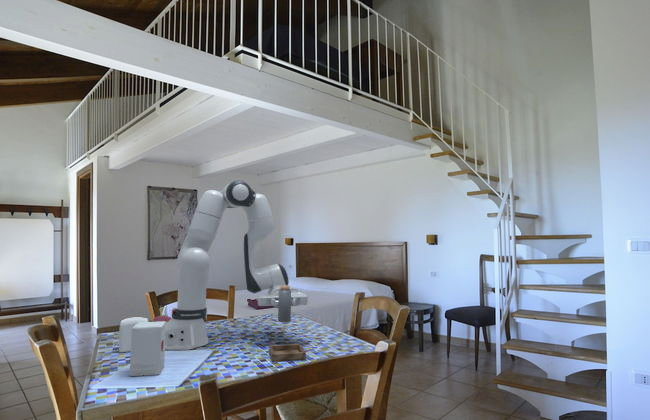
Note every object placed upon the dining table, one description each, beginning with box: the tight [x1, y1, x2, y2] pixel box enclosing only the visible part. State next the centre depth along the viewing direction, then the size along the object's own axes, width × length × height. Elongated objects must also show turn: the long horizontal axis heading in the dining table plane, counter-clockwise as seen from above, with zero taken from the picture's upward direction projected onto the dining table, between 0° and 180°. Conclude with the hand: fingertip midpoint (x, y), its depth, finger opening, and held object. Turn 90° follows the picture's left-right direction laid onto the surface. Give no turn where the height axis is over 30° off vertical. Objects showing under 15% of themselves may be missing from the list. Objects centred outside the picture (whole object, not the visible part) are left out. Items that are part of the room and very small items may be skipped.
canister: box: [277, 284, 292, 323], centre depth 157 cm, size 5×5×14 cm
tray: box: [268, 343, 307, 363], centre depth 147 cm, size 12×12×2 cm
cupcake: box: [151, 305, 172, 323], centre depth 183 cm, size 9×8×12 cm
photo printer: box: [118, 316, 149, 353], centre depth 152 cm, size 10×4×12 cm, turn 112°
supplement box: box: [129, 321, 166, 377], centre depth 129 cm, size 9×9×15 cm
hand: (285, 303), depth 156 cm, fingers closed on canister, 5 cm apart
